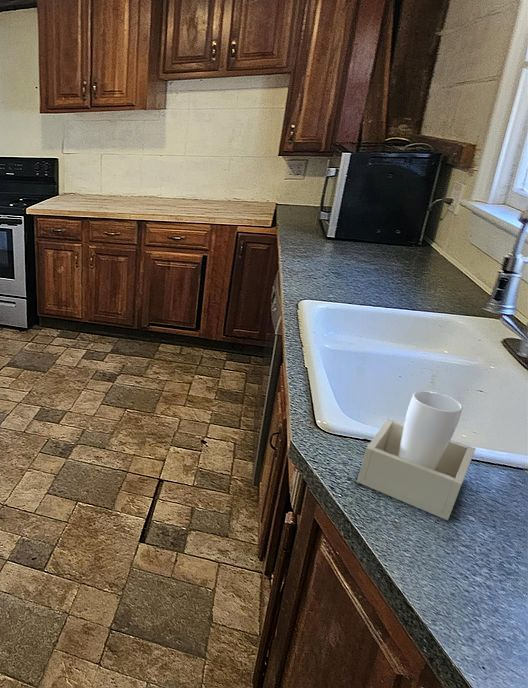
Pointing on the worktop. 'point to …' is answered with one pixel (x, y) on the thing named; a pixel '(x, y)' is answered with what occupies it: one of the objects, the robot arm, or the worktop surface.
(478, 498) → the worktop surface
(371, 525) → the worktop surface
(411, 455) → the drinking glass
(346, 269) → the worktop surface
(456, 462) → the beige open box
